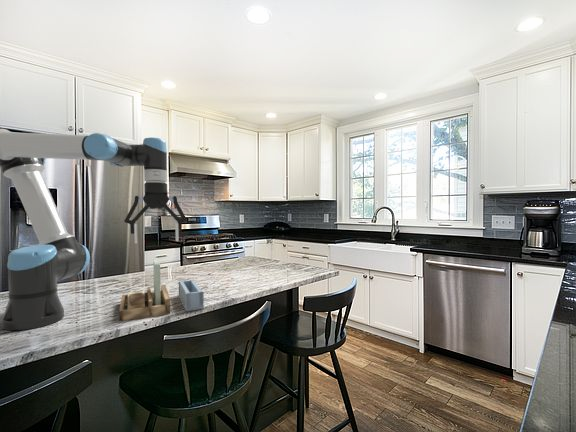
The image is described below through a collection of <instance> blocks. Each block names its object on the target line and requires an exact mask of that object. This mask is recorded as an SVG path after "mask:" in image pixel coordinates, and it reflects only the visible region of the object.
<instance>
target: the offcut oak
mask: <svg viewBox="0 0 576 432" xmlns="http://www.w3.org/2000/svg"><path fill="white" fill-rule="evenodd" d="M145 304H146V303H145ZM145 304H139V305H133V306H131V304H130V302H129V301H128V303H127V309H134V308H141V307H146V305H145Z"/></svg>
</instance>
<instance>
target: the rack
mask: <svg viewBox="0 0 576 432" xmlns="http://www.w3.org/2000/svg"><path fill="white" fill-rule="evenodd" d="M160 288H161V305H157V306H155V305H153V301H154V291H151V286H147V287H146V291H145V302H147V306H145V307H141V308H134V309H128V308H125V307H126V304H128V295H129V293H128V294H122V295H121V299H120V303H119V305H120V306H119V311H118V314H119V317H118V318H119V319H118V320H119V321H120V322H121V321H127V320H135V319H141V318H149V317H155V316H163V315H168V314H169V315H170V314H171V297H170V295H169V292H168V288H167V287H166V285H160Z"/></svg>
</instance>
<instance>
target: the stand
mask: <svg viewBox="0 0 576 432" xmlns="http://www.w3.org/2000/svg"><path fill="white" fill-rule="evenodd" d="M178 298H179V299H180V302H181V304H182V306H183V309H184V310H185V312H190V311H197V310H202V309H203V310H204V306H205V305H204V303H205V301H204V299H205V298H204V291H203V290H202V289H201V288H200V286H199V285H198V284H197V282H195V279H187V280H180V281H178Z"/></svg>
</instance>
